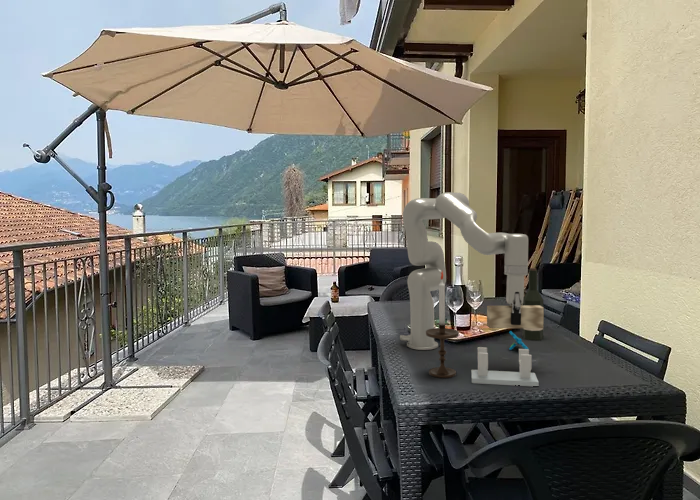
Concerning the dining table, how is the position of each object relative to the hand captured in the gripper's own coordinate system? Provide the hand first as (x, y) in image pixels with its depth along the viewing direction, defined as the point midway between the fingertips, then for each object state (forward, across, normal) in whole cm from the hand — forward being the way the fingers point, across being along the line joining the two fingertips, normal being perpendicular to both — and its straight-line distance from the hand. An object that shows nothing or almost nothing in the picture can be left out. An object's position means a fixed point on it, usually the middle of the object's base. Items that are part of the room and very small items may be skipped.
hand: (515, 322), depth 169 cm
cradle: (+16, +13, -4) cm, 21 cm away
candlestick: (+17, +10, -24) cm, 31 cm away
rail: (+2, 0, 0) cm, 2 cm away
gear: (+17, -24, +4) cm, 29 cm away
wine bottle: (+17, -44, +12) cm, 48 cm away
